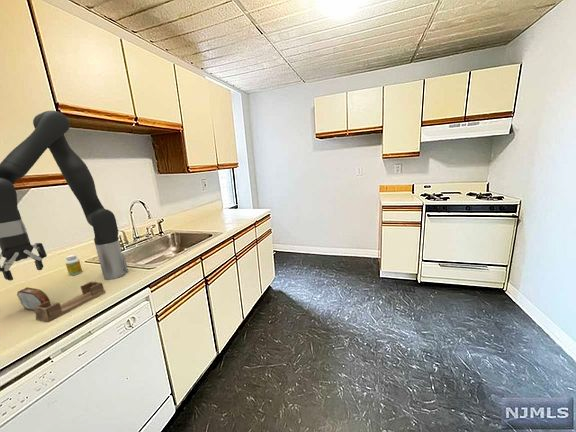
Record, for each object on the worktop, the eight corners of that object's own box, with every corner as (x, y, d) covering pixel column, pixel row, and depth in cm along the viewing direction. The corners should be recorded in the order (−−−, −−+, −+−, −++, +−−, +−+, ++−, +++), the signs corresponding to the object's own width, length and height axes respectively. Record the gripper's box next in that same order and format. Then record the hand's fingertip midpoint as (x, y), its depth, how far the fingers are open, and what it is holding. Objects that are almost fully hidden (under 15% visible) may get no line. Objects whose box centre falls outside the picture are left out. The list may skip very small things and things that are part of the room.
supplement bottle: (71, 276, 126) (66, 258, 124) (67, 274, 129) (62, 257, 127) (84, 272, 130) (79, 254, 128) (80, 270, 133) (75, 253, 131)
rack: (36, 319, 90) (32, 307, 89) (94, 291, 108) (91, 281, 107) (48, 322, 87) (44, 310, 86) (105, 292, 106) (102, 282, 105)
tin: (53, 309, 96) (47, 289, 94) (43, 314, 93) (36, 293, 91) (30, 304, 101) (23, 285, 99) (20, 309, 98) (13, 289, 96)
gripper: (30, 228, 99) (43, 266, 102) (-23, 239, 86) (-6, 282, 89) (42, 228, 96) (54, 267, 100) (-11, 240, 83) (5, 284, 87)
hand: (25, 274), depth 95 cm, fingers open, 8 cm apart
